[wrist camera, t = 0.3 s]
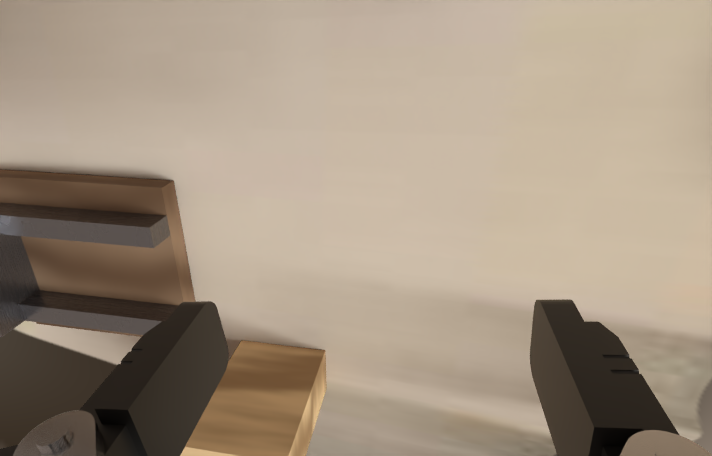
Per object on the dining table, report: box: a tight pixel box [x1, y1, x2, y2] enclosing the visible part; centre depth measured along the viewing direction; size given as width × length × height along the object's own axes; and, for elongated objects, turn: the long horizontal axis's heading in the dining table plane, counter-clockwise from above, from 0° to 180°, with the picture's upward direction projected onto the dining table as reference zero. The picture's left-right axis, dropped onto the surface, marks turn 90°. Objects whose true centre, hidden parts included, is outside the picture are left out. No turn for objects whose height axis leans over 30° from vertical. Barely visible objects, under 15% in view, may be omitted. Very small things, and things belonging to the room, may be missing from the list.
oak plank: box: [180, 340, 326, 456], centre depth 32 cm, size 4×7×10 cm, turn 90°
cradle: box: [0, 169, 195, 337], centre depth 32 cm, size 13×14×6 cm
